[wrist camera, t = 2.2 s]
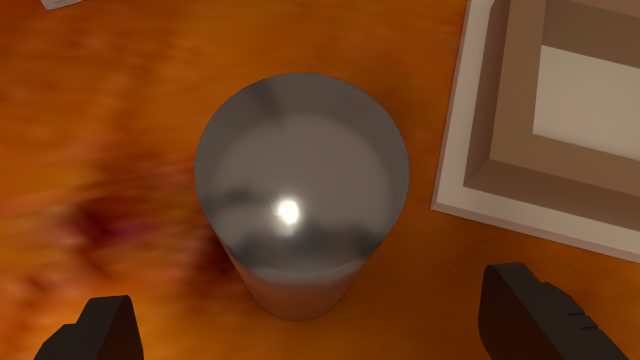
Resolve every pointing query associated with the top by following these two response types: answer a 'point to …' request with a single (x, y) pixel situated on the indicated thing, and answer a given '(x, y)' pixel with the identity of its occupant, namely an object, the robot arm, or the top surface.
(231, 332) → the top surface
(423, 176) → the top surface
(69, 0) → the supplement box
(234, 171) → the axle
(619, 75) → the cradle
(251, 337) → the top surface
